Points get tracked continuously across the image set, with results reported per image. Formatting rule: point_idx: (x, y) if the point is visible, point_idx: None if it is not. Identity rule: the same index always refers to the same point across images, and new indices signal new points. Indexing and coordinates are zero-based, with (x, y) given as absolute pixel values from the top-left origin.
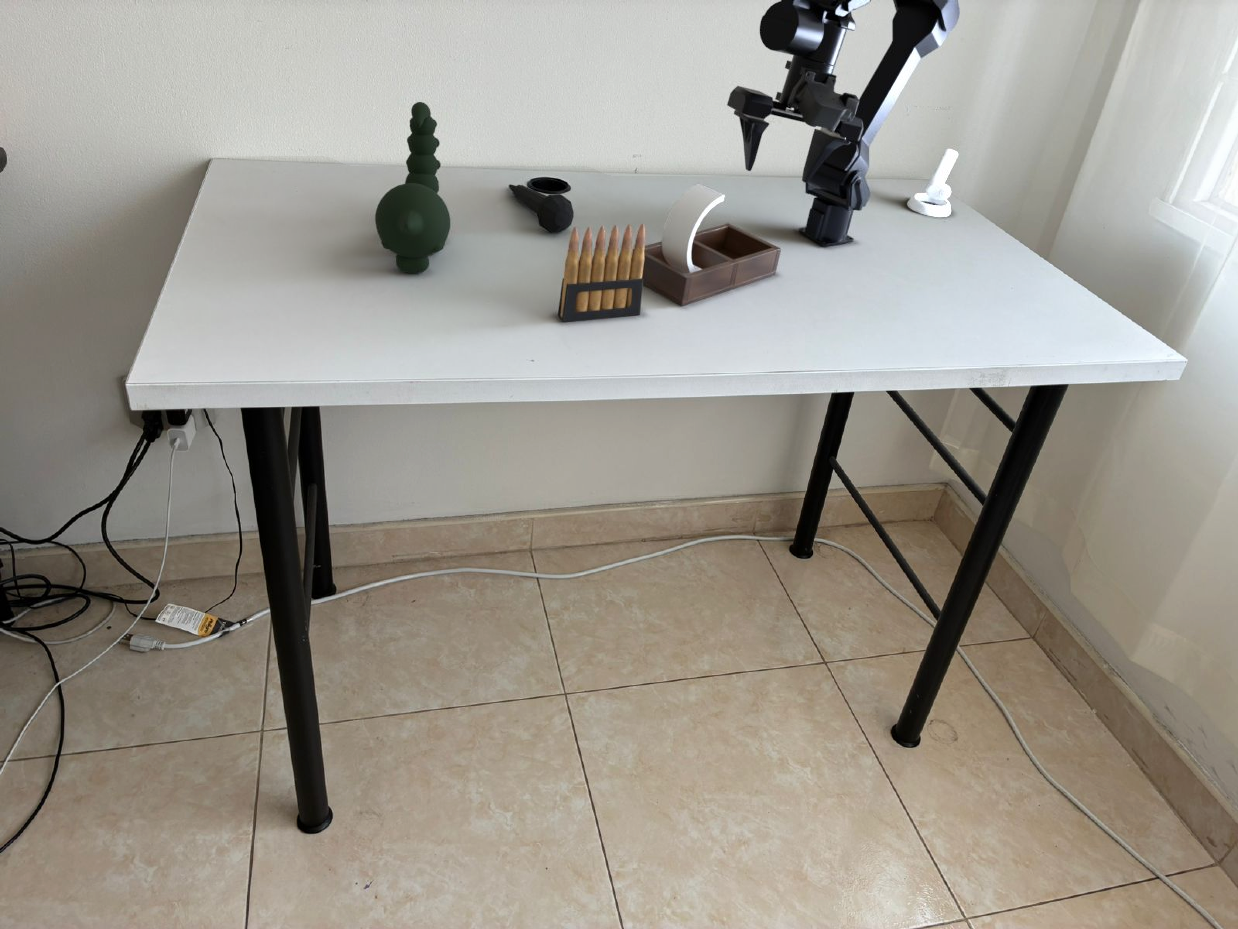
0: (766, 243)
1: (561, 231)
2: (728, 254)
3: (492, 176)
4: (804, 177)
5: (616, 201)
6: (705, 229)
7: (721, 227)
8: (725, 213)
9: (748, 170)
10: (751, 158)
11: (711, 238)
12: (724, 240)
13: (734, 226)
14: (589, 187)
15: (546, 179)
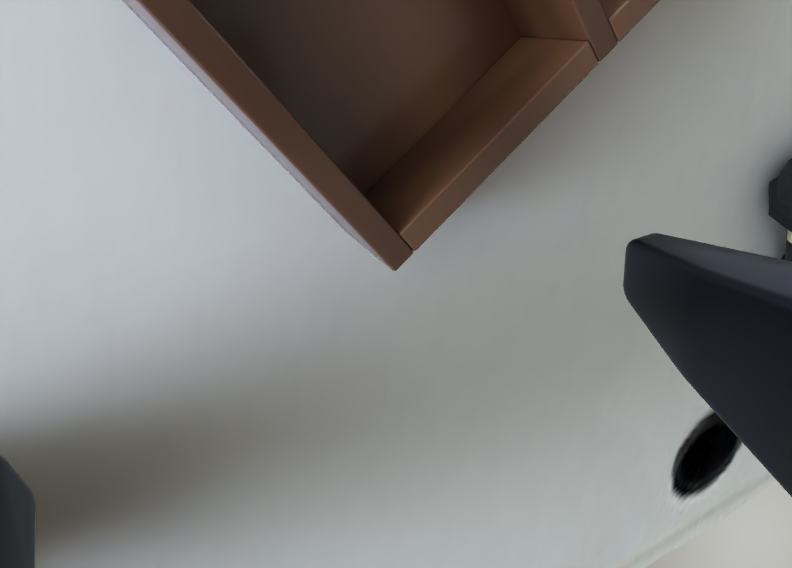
0: (220, 49)
1: (771, 182)
2: (345, 143)
3: None
4: (7, 509)
5: (598, 447)
6: (506, 153)
7: (433, 205)
8: (303, 543)
9: (649, 234)
10: (764, 262)
11: (456, 146)
12: (377, 206)
13: (372, 240)
14: (635, 492)
15: (704, 481)
